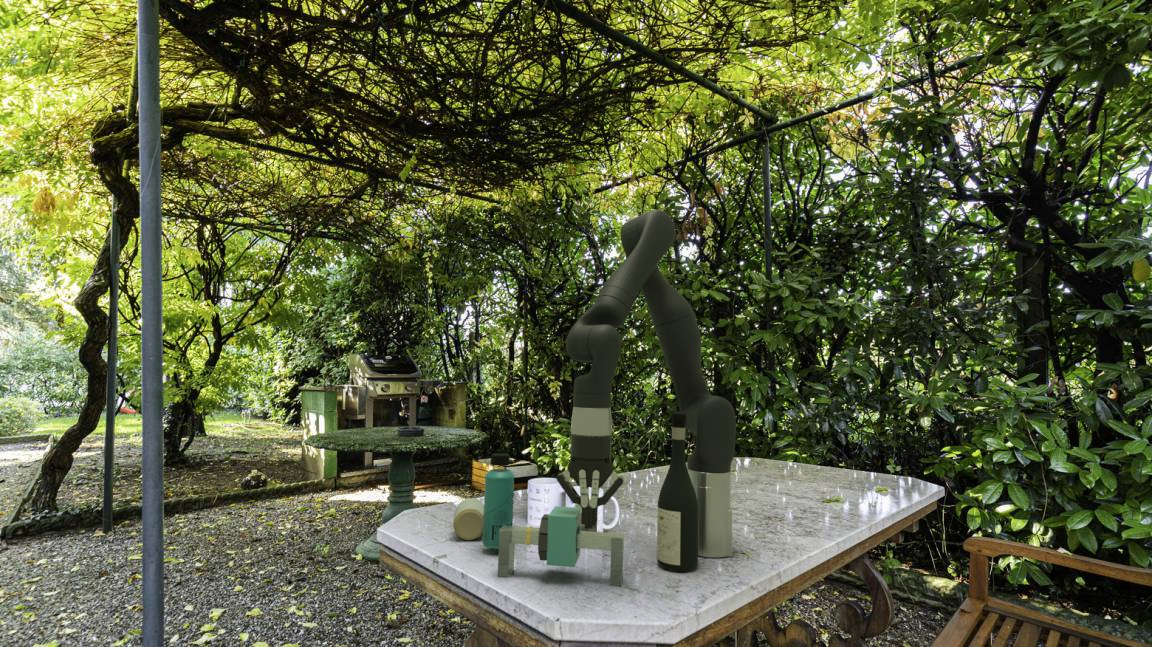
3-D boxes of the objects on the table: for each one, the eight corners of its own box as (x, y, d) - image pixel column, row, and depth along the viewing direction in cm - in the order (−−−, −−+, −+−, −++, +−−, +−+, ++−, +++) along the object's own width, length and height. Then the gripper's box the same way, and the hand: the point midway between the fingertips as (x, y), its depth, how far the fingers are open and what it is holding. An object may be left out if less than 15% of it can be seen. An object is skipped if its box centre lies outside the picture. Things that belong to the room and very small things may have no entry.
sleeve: (579, 554, 106) (581, 507, 107) (574, 567, 99) (575, 517, 100) (553, 552, 107) (555, 506, 108) (546, 565, 100) (548, 515, 101)
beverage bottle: (487, 557, 112) (491, 456, 114) (476, 548, 118) (480, 452, 120) (517, 553, 115) (520, 455, 117) (506, 544, 121) (509, 450, 123)
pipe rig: (623, 578, 103) (624, 532, 104) (622, 586, 99) (623, 538, 100) (502, 568, 106) (504, 523, 107) (496, 576, 102) (498, 529, 103)
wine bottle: (671, 575, 105) (672, 414, 108) (649, 562, 113) (651, 411, 115) (706, 570, 109) (707, 414, 111) (682, 557, 116) (684, 411, 118)
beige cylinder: (451, 542, 122) (453, 506, 123) (453, 531, 130) (455, 497, 131) (500, 542, 124) (502, 506, 124) (499, 531, 132) (501, 498, 132)
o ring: (554, 552, 107) (555, 511, 108) (546, 565, 100) (547, 521, 100) (545, 551, 107) (547, 510, 108) (537, 564, 100) (538, 521, 101)
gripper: (627, 431, 107) (626, 524, 106) (559, 428, 109) (557, 520, 107) (626, 435, 100) (624, 535, 98) (552, 432, 101) (549, 530, 100)
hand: (589, 527), depth 103 cm, fingers closed
